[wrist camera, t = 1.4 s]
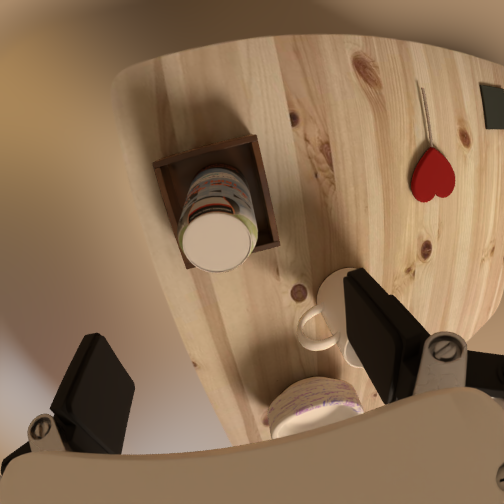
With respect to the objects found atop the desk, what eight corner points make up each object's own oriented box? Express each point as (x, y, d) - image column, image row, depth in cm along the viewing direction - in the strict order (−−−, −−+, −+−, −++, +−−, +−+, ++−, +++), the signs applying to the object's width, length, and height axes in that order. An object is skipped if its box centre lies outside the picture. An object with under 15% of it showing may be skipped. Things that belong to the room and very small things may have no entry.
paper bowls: (265, 423, 48) (271, 457, 41) (263, 371, 42) (271, 412, 35) (342, 409, 49) (354, 440, 42) (356, 356, 43) (374, 390, 36)
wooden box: (161, 158, 29) (152, 162, 25) (251, 134, 29) (256, 134, 25) (190, 252, 33) (186, 269, 29) (273, 231, 33) (280, 246, 29)
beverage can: (245, 159, 29) (261, 176, 18) (250, 226, 32) (266, 277, 21) (185, 165, 29) (164, 186, 18) (193, 231, 32) (181, 285, 21)
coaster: (479, 85, 27) (481, 85, 27) (502, 88, 27) (503, 88, 27) (485, 128, 30) (487, 129, 30) (507, 128, 30) (508, 129, 30)
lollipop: (395, 88, 27) (411, 204, 33) (400, 87, 27) (414, 206, 33) (441, 88, 27) (452, 193, 34) (445, 88, 27) (456, 195, 33)
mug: (374, 264, 37) (415, 307, 27) (363, 313, 40) (396, 361, 30) (285, 270, 35) (308, 321, 26) (282, 322, 39) (300, 379, 29)
